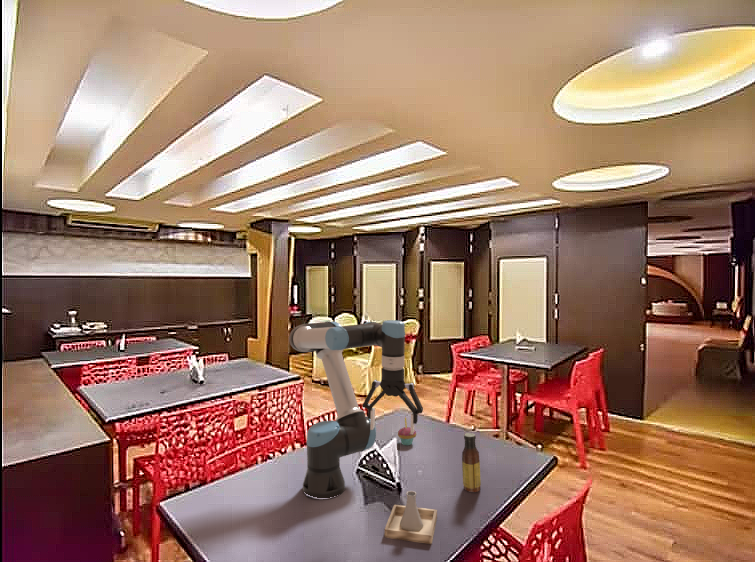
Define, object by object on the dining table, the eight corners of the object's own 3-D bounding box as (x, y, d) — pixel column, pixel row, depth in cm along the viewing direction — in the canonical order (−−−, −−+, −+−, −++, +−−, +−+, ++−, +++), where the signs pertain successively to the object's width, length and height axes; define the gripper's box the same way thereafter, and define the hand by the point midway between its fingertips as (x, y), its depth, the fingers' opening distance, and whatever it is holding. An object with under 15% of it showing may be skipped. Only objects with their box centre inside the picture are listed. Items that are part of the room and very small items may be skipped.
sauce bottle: (478, 484, 161) (477, 431, 160) (482, 493, 155) (482, 437, 154) (460, 485, 161) (460, 431, 160) (464, 493, 154) (464, 437, 154)
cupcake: (395, 441, 203) (394, 415, 202) (412, 438, 205) (412, 413, 205) (401, 448, 194) (401, 421, 194) (419, 445, 197) (419, 419, 197)
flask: (422, 533, 130) (421, 500, 130) (398, 530, 132) (397, 498, 131) (424, 519, 137) (424, 488, 137) (401, 517, 139) (401, 486, 139)
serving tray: (384, 537, 129) (384, 529, 129) (394, 512, 143) (394, 504, 143) (431, 544, 126) (431, 535, 126) (437, 517, 140) (437, 509, 140)
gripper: (353, 367, 144) (353, 430, 145) (429, 373, 138) (427, 439, 139) (360, 362, 151) (359, 422, 152) (432, 367, 145) (431, 430, 146)
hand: (392, 430), depth 146 cm, fingers open, 13 cm apart
